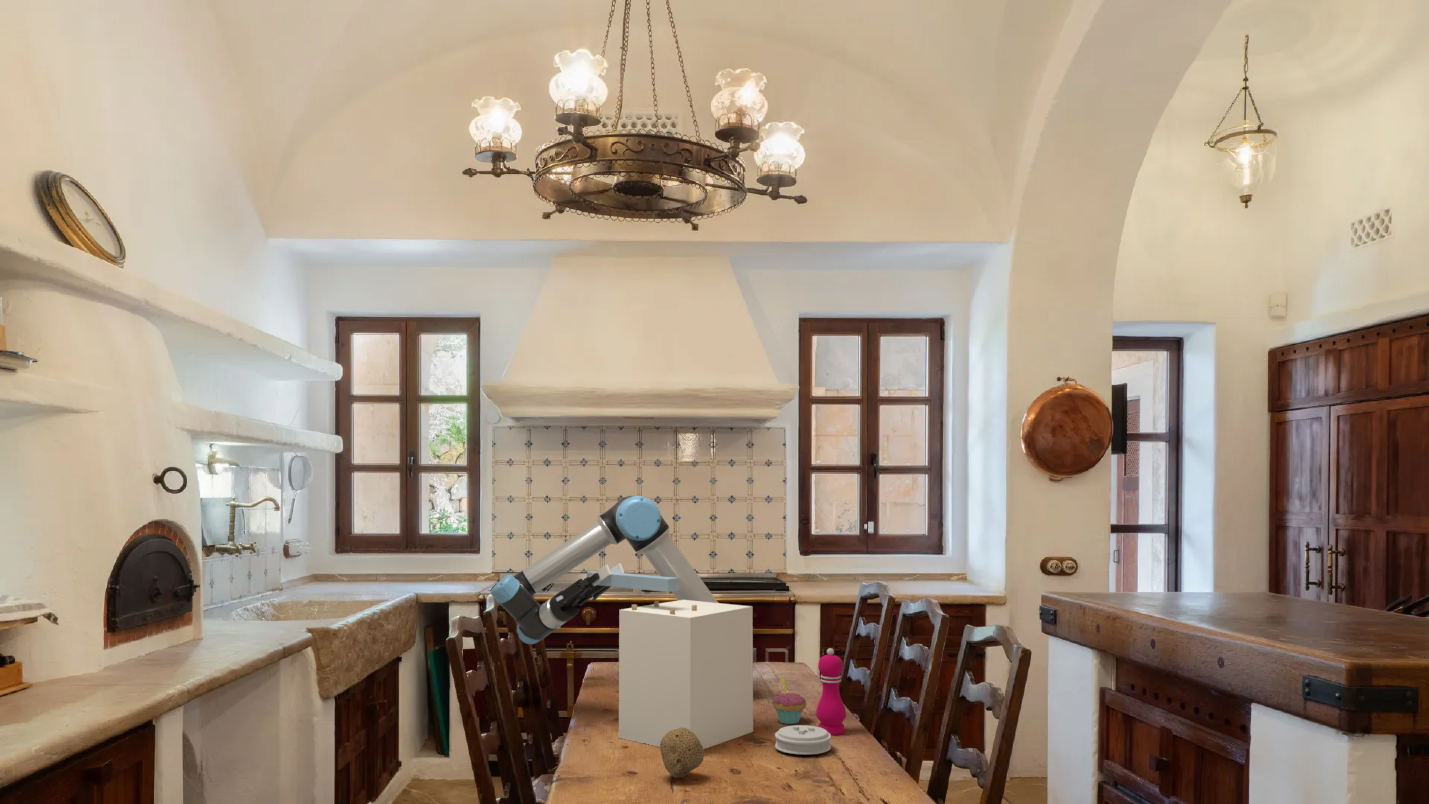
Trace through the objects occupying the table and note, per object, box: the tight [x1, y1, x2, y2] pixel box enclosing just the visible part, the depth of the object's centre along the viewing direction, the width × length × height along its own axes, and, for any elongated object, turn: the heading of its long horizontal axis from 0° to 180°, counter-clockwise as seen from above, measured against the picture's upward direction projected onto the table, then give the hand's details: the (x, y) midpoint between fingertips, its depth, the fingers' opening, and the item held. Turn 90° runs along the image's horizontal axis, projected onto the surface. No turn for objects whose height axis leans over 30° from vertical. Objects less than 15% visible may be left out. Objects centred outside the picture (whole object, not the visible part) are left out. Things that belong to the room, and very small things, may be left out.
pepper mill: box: [815, 647, 847, 736], centre depth 235 cm, size 7×7×20 cm
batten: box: [586, 570, 679, 593], centre depth 240 cm, size 28×4×3 cm, turn 51°
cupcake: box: [771, 672, 807, 725], centre depth 244 cm, size 9×8×12 cm
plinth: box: [618, 600, 754, 750], centre depth 233 cm, size 22×24×31 cm
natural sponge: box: [659, 727, 705, 779], centre depth 199 cm, size 9×9×10 cm
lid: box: [774, 724, 832, 755], centre depth 219 cm, size 13×13×5 cm
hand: (614, 568), depth 244 cm, fingers closed on batten, 4 cm apart
